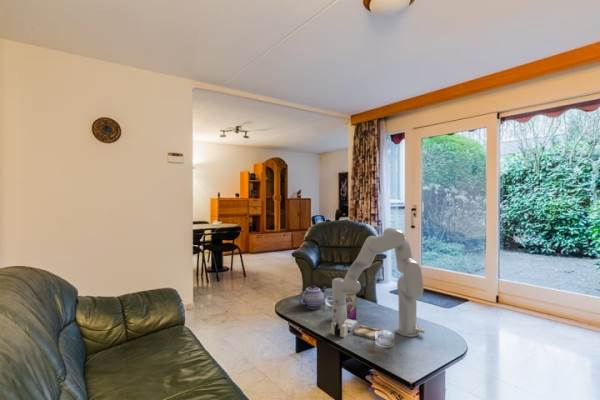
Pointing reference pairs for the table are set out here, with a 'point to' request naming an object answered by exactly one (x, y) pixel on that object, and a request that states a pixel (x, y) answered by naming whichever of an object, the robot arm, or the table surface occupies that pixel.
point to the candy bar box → (351, 305)
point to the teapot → (312, 297)
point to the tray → (365, 331)
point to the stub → (342, 329)
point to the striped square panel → (350, 324)
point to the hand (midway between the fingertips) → (339, 333)
